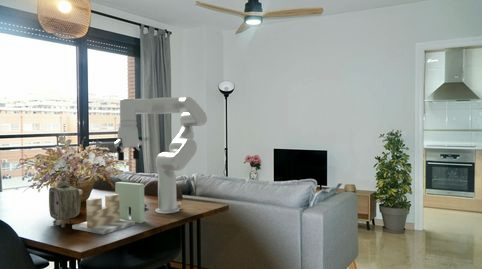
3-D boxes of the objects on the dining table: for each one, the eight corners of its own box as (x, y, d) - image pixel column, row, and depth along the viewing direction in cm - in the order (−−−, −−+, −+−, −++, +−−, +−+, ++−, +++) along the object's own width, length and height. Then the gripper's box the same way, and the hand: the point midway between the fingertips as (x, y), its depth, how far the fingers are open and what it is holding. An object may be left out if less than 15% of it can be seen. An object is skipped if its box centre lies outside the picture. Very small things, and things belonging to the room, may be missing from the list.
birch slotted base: (104, 219, 189) (103, 192, 188) (134, 224, 179) (134, 195, 178) (72, 228, 173) (71, 198, 173) (103, 234, 163) (102, 202, 163)
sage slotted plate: (120, 217, 192) (119, 181, 192) (144, 221, 184) (144, 183, 184) (115, 219, 190) (115, 182, 189) (140, 223, 182) (139, 184, 181)
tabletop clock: (49, 223, 182) (48, 170, 181) (69, 220, 188) (68, 169, 188) (60, 229, 172) (59, 173, 171) (81, 225, 178) (80, 171, 177)
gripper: (135, 124, 195) (136, 158, 196) (108, 124, 180) (109, 160, 180) (146, 124, 192) (147, 158, 192) (120, 124, 177) (120, 161, 177)
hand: (128, 159), depth 186 cm, fingers open, 9 cm apart
